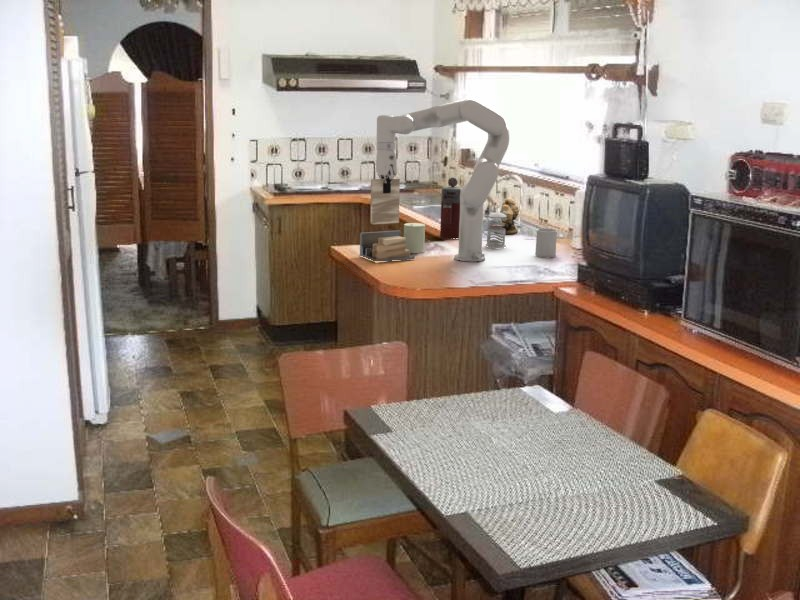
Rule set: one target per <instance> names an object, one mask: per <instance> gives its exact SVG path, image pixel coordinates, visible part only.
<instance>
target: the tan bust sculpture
mask: <svg viewBox="0 0 800 600" xmlns="http://www.w3.org/2000/svg"><path fill="white" fill-rule="evenodd" d="M501 205H502V206H501V207H500V211H499V213H503V214H505V215H506V218H499V220H500V221H501V224H504V225H505V226H504V227H502V228H505V236H514V235H517V234H518V232H519V231H518V229H517V228H516V225H515V220H516V219H517V218H518V216H519V206H518V205H517V202H516V200H515V199H514V198H512V197H506V198H505V200H504V201H503V202H502V204H501ZM493 230H495V229H493ZM493 233H495V232H493ZM495 234H497V233H495Z"/></svg>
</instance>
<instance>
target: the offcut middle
mask: <svg viewBox="0 0 800 600" xmlns="http://www.w3.org/2000/svg"><path fill="white" fill-rule="evenodd" d="M405 246H406V244H401V245H392V246H383V245H379V244H373V250H374V251H376V252H392V251H405Z"/></svg>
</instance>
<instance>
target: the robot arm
mask: <svg viewBox="0 0 800 600" xmlns="http://www.w3.org/2000/svg"><path fill="white" fill-rule="evenodd" d="M464 122H468V123H469V124H471V125H473V126H475V127H476V128H478V129H480V130H482V131H484V132H485V133H487V141H486V143H485V146H484V148H483V149H482V151H481V154H480V155H479V158H478V159H477V161H476V163H475V164H474V166H473V172H472V173H471V176H470V178H469V180H468V182H466V183H465V184H464V185H463V186H461V187H462V189H461V192H460V223H459V239H458V252H457V253H458V254H455V255H454V260H456V261H459V260H460V262H468V263H469V262H470V263H472V262H473V263H477V261H479V262H483V261H485V260H486V256H485V254H484V253H483V232H484V230H483V227H484V223H483V221H484V205H485V204H484V203H485V202H486V200H487V199H488V197H489V195H490V193H491V192H492V189H493V188H494V186H495V184H496V181H497V180H498V177H499V173H500V171H499V170H500V169H499V167H500V165H501V162H502V161H503V159H504V157H505V154H507V150H508V148H509V145H510V131H509V127H508V125H507V121H506V119H505V117H504V116H503V115H502V114H500V113H499V112H496V111H495V110H493V109H491V108H489V107H487V106H486V105H484V104H483V103H481V102H479V100H476V99H475V98H471V97H469V98H464V99H460V100H456V101H450V102H447V103H443V104H438V105H435V106H431V107H429V108H426V109H421V110H417V111H413V112H410V113H405V114H402V115H395V116H394V115H392V114H381V115H378V116H377V117H376V160H375V172H376V174H377V177H378V179H384V183H383V193H391V180H392V179H393V178H395V176H396V175H397V173H398V168H397V167H398V166H397V165H398V164H397V153H396V134H399V135H409V134H411V133H412V132H416V131H421V130H425V129H430V128H443V127H448V126H452V125H456V124H460V123H464Z"/></svg>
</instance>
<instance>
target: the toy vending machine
mask: <svg viewBox="0 0 800 600" xmlns="http://www.w3.org/2000/svg"><path fill="white" fill-rule="evenodd" d="M458 184H459V180H458V178H457V177H455V176H452V177H450V178H449V179H448V185H446V186H444V187H443V188H441V202H440V203H441V204H440V225H439V226H440V228H439V229H440V230H439V239H448V240H457V239H456V238H459V223H460V192H461V189H462V187H463V186H457V185H458ZM451 238H452V239H451ZM453 238H455V239H453Z"/></svg>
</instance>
